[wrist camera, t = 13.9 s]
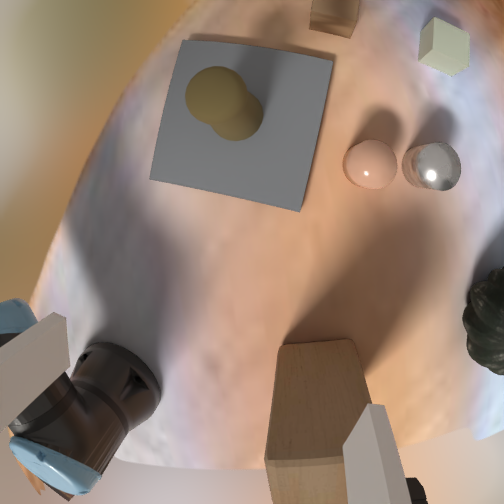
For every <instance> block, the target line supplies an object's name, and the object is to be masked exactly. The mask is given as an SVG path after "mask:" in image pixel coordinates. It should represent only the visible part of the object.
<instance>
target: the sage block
mask: <svg viewBox="0 0 504 504" xmlns="http://www.w3.org/2000/svg"><path fill="white" fill-rule="evenodd" d="M469 50H470V35H469V34H468V33H467V32H465V31H463V30H461V29H459V28H457V27H455V26H453V25H451V24H449V23H447V22H445V21H443V20H440V19H438V18H436V17H433V18H432V19H431V21H430V22H429V23H428V24H427V25H426V26H425V27H424V28H423V29H422V30H421V32H420V45H419V56H418V62H420V63H422V64H424V65H427V66H429V67H431V68H434V69H436V70H438V71H440V72H443V73H445V74H447V75H449V76H451V77H452V76H454V75H455V74H457V73H459V72H460V71H462V70H464V69H466V68H467V67H469Z"/></svg>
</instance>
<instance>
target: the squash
mask: <svg viewBox="0 0 504 504" xmlns="http://www.w3.org/2000/svg"><path fill="white" fill-rule="evenodd" d="M470 298H471V303H469V304H468V305H467V306H466V308H465V310H464V313H463V317H462V319H463V324H464V327H465V329H466V331H467V333H468V334H467V350H468V353H469V355H470V356H471V358H472V359H473V360H474V361H476V362H477V363H478V364H480V365H481V366H484V367H487V368H488V369H489V370H490V371H492V372H493V373H495V374H498V375H504V266H503V268H502V269H494V270H492V271H491V273H490V274H489V276H488V279H487V281H481V282H478V283H476V284H475V285H473V286H472V288H471V293H470Z"/></svg>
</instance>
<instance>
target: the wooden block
mask: <svg viewBox="0 0 504 504" xmlns="http://www.w3.org/2000/svg"><path fill="white" fill-rule="evenodd" d="M368 403H369V404H372V402H371V398H370V395H369V391H368V387H367V384H366V381H365V377H364V374H363V370H362V367H361V364H360V360H359V357H358V354H357V351H356V347H355V345H354V343H353V341H352V340H350V339H341V340H331V341H321V342H310V343H298V344H285V345H283V346H281V347H280V348H279V351H278V356H277V365H276V373H275V382H274V390H273V398H272V406H271V413H270V421H269V428H268V436H267V443H266V450H265V457H264V461H265V466H266V471H267V476H268V481H269V486H270V491H271V496H272V501H273V504H348V496H347V485H346V475H345V465H344V455H343V445H344V443H345V441H346V440H347V438H348V437H349V435H350V433H351V432H352V430H353V428H354V427H355V425H356V423H357V422H358V420H359V418H360V416H361V415H362V413H363V411H364V409H365V408H366V406H367V404H368Z"/></svg>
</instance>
